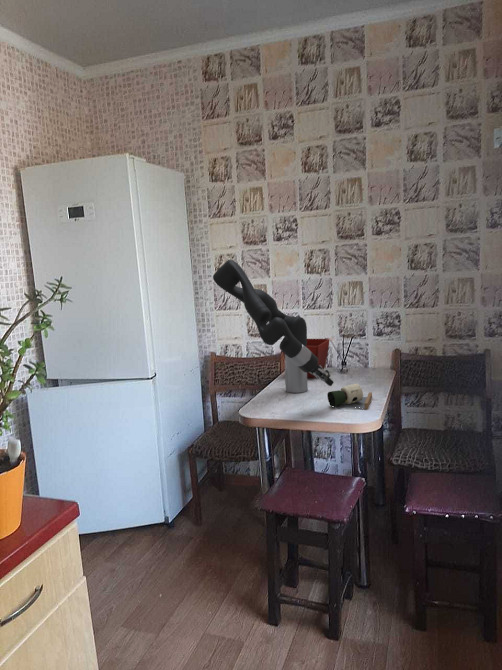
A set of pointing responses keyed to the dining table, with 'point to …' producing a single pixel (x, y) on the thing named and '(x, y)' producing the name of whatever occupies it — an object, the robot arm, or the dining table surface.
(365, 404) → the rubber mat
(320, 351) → the plant pot
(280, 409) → the dining table surface
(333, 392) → the character mug
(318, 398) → the dining table surface
